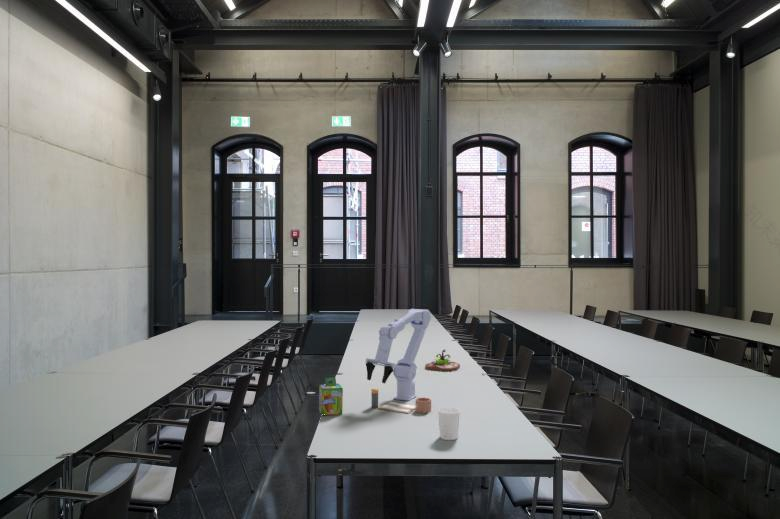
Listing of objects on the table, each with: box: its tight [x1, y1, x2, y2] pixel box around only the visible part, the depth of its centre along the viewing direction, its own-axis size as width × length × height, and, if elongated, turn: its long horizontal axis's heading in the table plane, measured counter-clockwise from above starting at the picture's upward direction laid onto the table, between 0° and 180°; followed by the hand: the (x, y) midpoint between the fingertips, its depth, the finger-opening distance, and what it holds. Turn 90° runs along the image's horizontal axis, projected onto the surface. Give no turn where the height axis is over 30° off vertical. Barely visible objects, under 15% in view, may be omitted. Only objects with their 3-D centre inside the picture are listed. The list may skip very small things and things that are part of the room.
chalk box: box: [318, 377, 344, 417], centre depth 236 cm, size 9×9×15 cm
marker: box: [370, 388, 379, 409], centre depth 244 cm, size 3×3×8 cm
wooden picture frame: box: [377, 401, 416, 414], centre depth 243 cm, size 12×15×1 cm
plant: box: [424, 349, 461, 373], centre depth 329 cm, size 20×20×11 cm
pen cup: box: [415, 397, 432, 414], centre depth 238 cm, size 6×6×5 cm
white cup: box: [438, 407, 461, 441], centre depth 204 cm, size 8×8×10 cm
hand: (376, 381), depth 242 cm, fingers open, 7 cm apart
